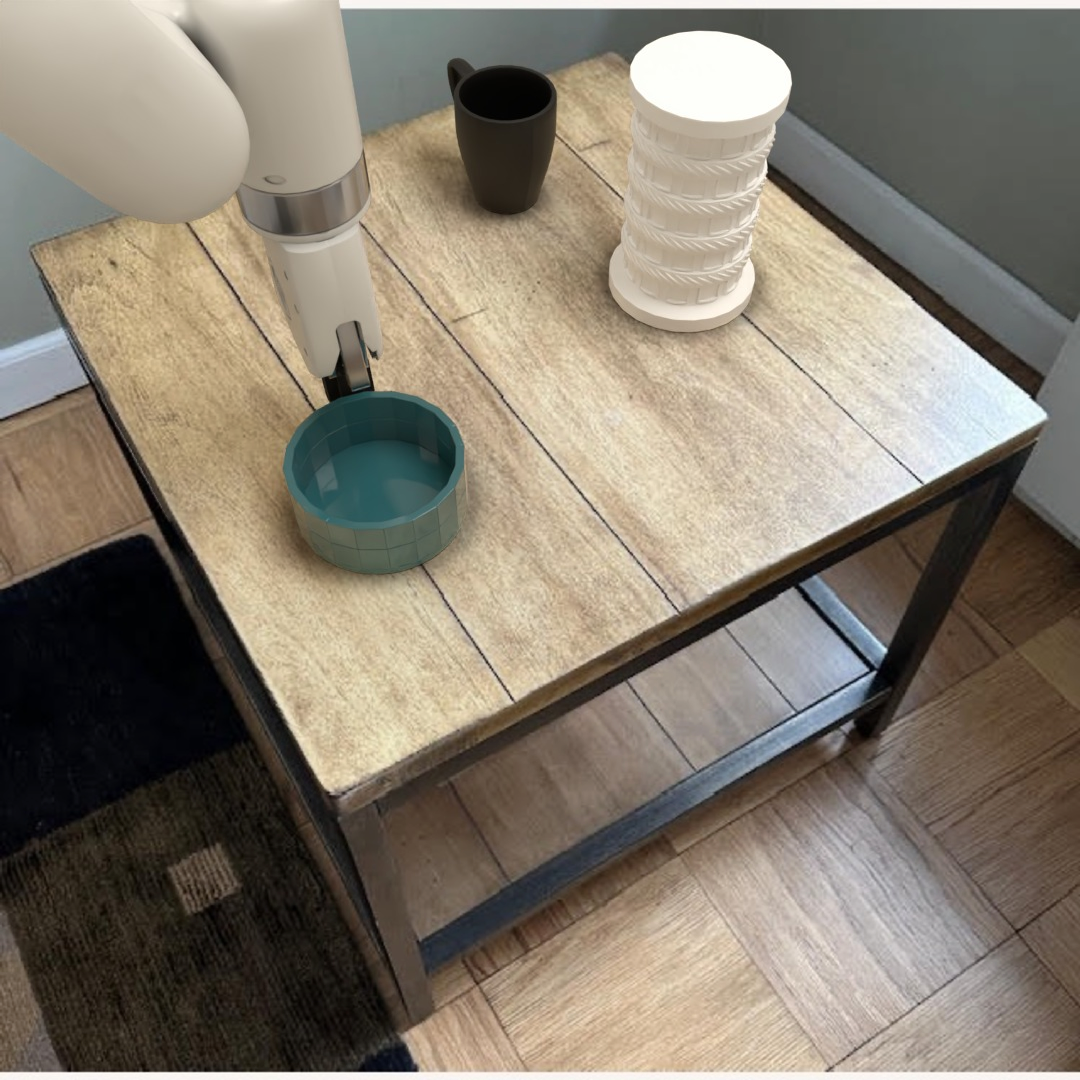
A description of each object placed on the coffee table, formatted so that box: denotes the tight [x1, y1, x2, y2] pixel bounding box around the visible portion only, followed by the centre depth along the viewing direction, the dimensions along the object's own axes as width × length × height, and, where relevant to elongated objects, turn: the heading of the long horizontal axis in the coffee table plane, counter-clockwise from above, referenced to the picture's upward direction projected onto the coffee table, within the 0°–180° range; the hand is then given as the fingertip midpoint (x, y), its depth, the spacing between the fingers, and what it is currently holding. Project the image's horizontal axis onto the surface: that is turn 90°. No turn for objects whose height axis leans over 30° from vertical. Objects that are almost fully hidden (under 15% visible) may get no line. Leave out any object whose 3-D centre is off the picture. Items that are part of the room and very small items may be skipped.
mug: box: [446, 57, 558, 215], centre depth 91 cm, size 8×12×10 cm
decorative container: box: [608, 30, 793, 333], centre depth 81 cm, size 12×12×18 cm
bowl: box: [282, 390, 469, 575], centre depth 73 cm, size 12×12×5 cm
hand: (351, 398), depth 77 cm, fingers closed
